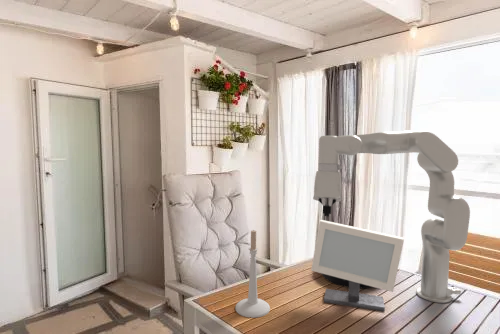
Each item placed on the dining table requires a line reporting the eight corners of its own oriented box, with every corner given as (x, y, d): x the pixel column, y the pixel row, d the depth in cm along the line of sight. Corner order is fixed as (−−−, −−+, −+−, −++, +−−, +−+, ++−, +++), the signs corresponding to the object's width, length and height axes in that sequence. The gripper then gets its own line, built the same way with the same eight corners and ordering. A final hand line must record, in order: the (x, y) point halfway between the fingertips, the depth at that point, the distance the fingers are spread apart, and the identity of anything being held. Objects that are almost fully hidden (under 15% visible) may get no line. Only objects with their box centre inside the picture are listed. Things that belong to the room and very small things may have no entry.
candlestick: (273, 303, 128) (274, 226, 126) (265, 320, 116) (266, 236, 113) (241, 298, 132) (242, 224, 129) (230, 314, 119) (231, 232, 117)
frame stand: (382, 300, 131) (385, 243, 129) (384, 311, 123) (387, 250, 121) (325, 292, 138) (327, 238, 136) (324, 302, 129) (325, 244, 127)
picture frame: (392, 288, 124) (402, 237, 121) (392, 292, 121) (403, 239, 118) (312, 267, 132) (320, 219, 130) (311, 270, 129) (319, 221, 127)
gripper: (348, 168, 127) (347, 215, 129) (309, 166, 132) (308, 212, 133) (348, 169, 120) (346, 219, 121) (307, 168, 124) (306, 216, 126)
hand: (326, 215), depth 127 cm, fingers closed
